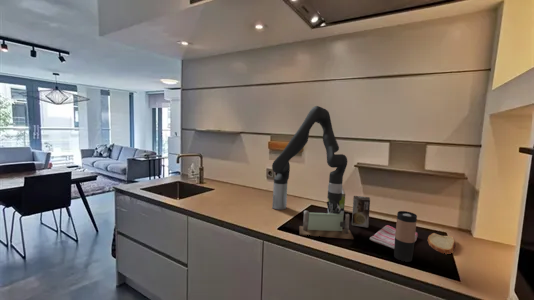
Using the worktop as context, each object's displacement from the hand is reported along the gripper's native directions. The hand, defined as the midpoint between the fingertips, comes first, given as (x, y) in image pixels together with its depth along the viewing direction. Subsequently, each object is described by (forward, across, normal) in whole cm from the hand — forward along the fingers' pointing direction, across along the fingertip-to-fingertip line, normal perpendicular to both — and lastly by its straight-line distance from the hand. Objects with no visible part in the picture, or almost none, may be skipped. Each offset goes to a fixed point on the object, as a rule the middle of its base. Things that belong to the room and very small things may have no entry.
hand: (332, 221), depth 144 cm
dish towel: (+5, +18, +25) cm, 31 cm away
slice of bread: (+4, +28, +46) cm, 54 cm away
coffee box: (+5, -2, +19) cm, 20 cm away
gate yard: (+4, +5, -7) cm, 9 cm away
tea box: (+5, -25, +16) cm, 30 cm away
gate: (+3, +4, -6) cm, 8 cm away
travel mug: (+4, +35, +15) cm, 38 cm away
